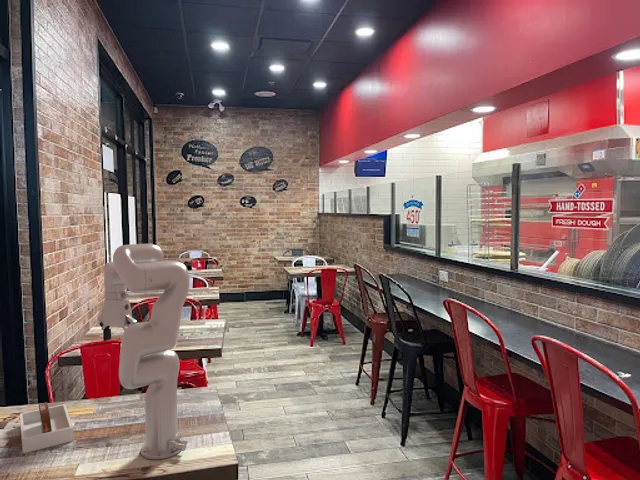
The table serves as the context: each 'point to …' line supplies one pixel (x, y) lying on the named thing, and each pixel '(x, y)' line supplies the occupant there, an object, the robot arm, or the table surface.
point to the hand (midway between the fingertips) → (117, 341)
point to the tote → (39, 440)
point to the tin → (45, 418)
